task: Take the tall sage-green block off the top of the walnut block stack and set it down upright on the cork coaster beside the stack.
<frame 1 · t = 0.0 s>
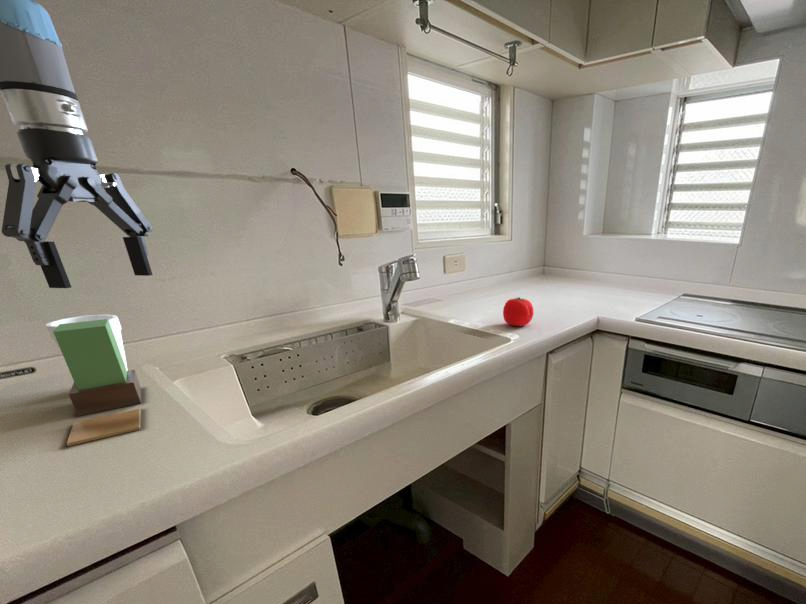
hand: (106, 281, 66), 21 cm above the countertop, tool pointing down, fingers open, 13 cm apart
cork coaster: (107, 427, 63), on the countertop
foam cup: (108, 386, 78), on the countertop
tomato: (517, 325, 123), on the countertop
walnut base: (112, 401, 71), on the countertop, touching green block
green block: (103, 381, 70), point 4 cm above the countertop, touching walnut base
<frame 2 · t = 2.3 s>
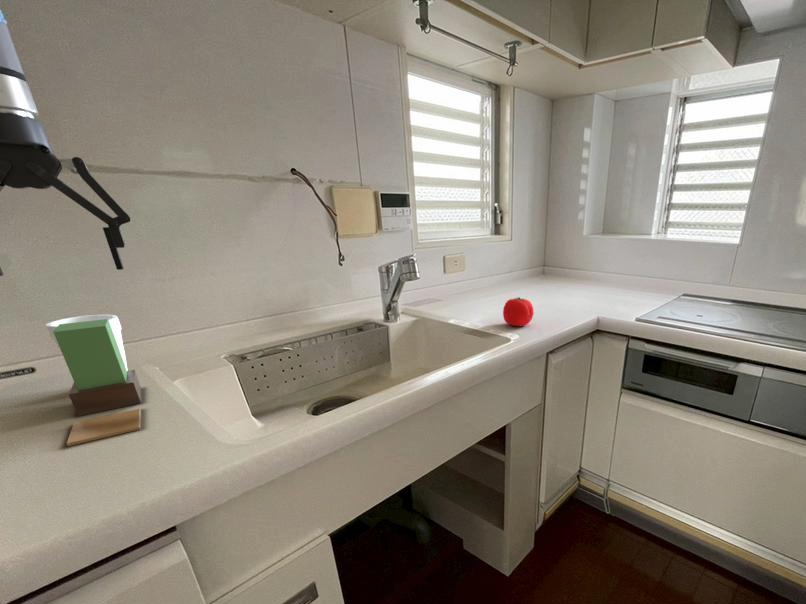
hand: (63, 272, 63), 22 cm above the countertop, tool pointing down, fingers open, 13 cm apart
nothing on the countertop moved.
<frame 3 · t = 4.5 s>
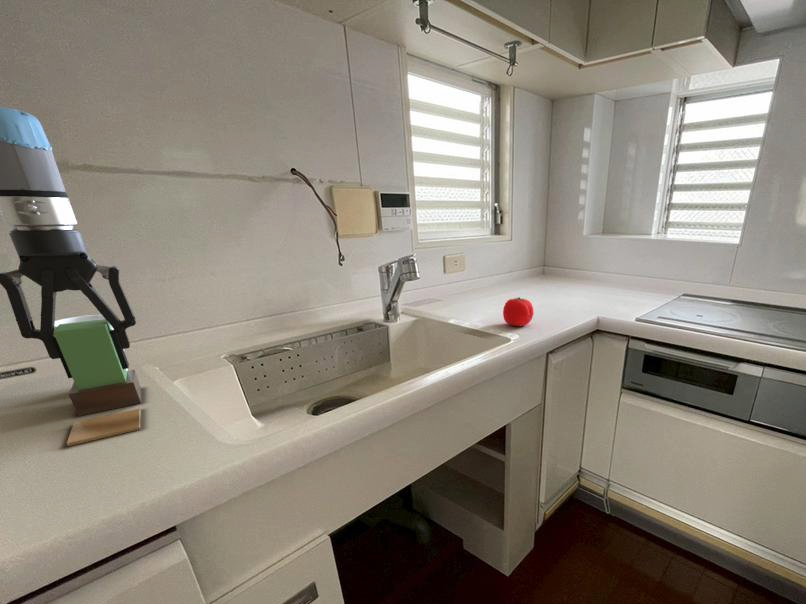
hand: (99, 370, 69), 6 cm above the countertop, tool pointing down, fingers closed on green block, 6 cm apart
green block: (103, 380, 70), point 4 cm above the countertop, touching gripper, walnut base
everything else where it was.
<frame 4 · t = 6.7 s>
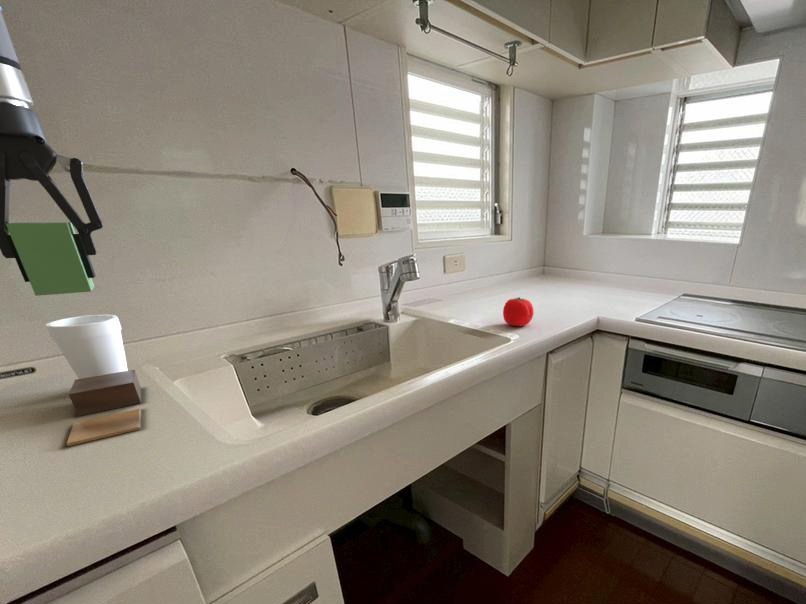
hand: (62, 278, 62), 22 cm above the countertop, tool pointing down, fingers closed on green block, 6 cm apart
walnut base: (112, 401, 71), on the countertop
green block: (66, 290, 63), point 20 cm above the countertop, touching gripper
everything else where it was.
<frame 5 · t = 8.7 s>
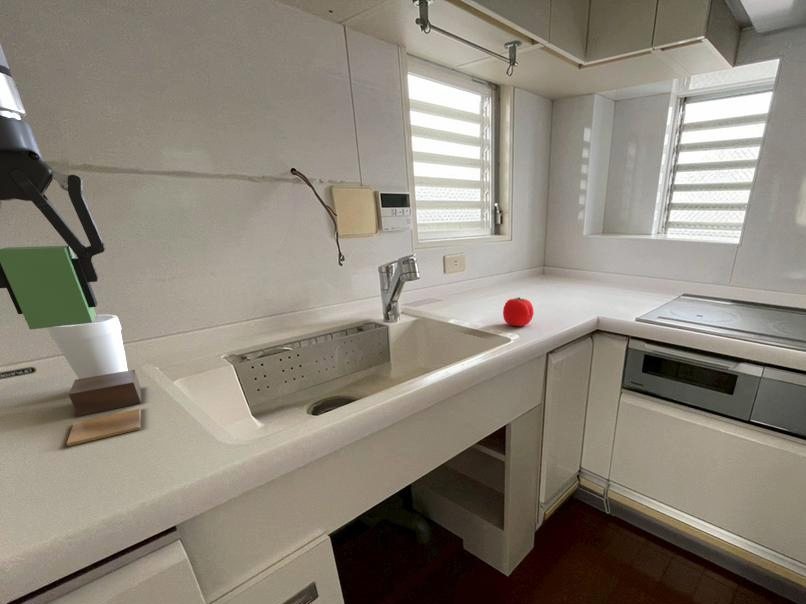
hand: (60, 308, 56), 19 cm above the countertop, tool pointing down, fingers closed on green block, 6 cm apart
green block: (65, 321, 57), point 17 cm above the countertop, touching gripper
everything else where it was.
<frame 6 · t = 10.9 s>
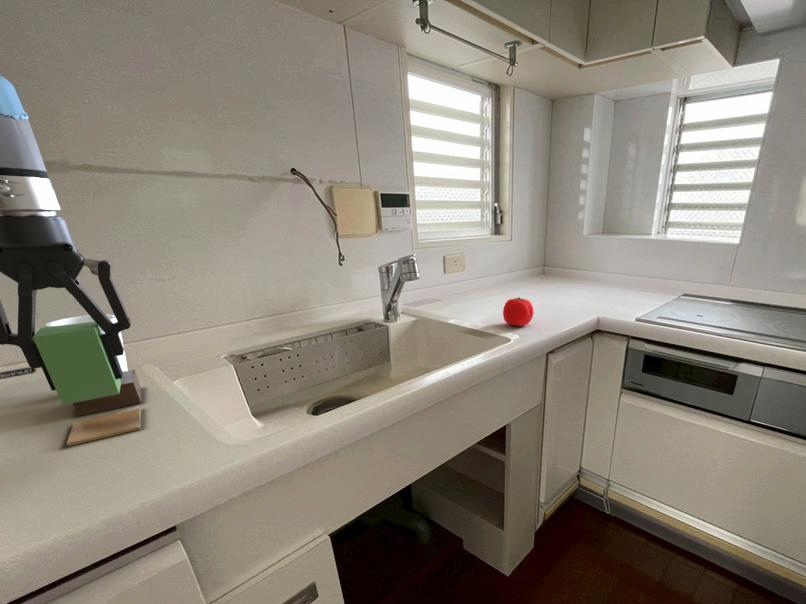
hand: (89, 381, 60), 8 cm above the countertop, tool pointing down, fingers closed on green block, 6 cm apart
green block: (93, 392, 60), point 6 cm above the countertop, touching gripper
everything else where it was.
when the fingers open (2 cm above the countertop, at t = 12.6 s): green block stays where it is, resting on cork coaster.
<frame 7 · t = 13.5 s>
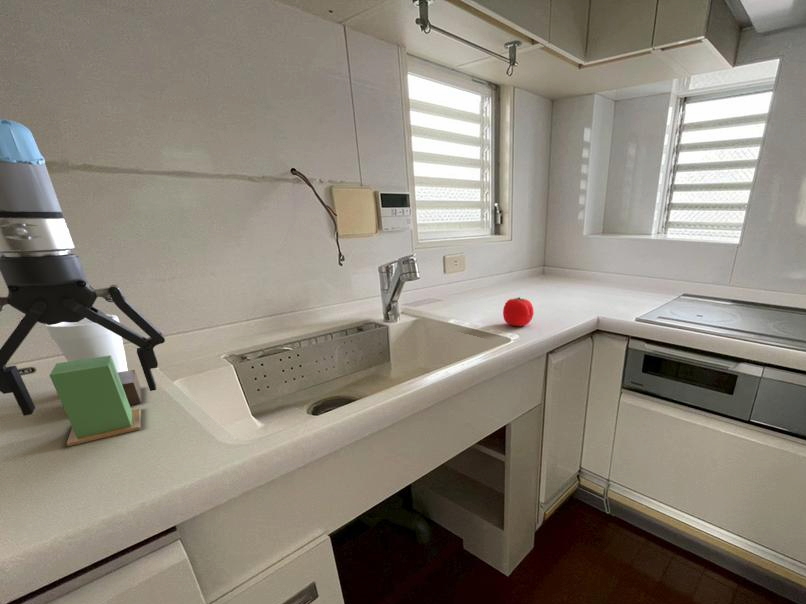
hand: (95, 399, 61), 5 cm above the countertop, tool pointing down, fingers open, 13 cm apart
green block: (106, 424, 62), resting on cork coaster
everything else where it was.
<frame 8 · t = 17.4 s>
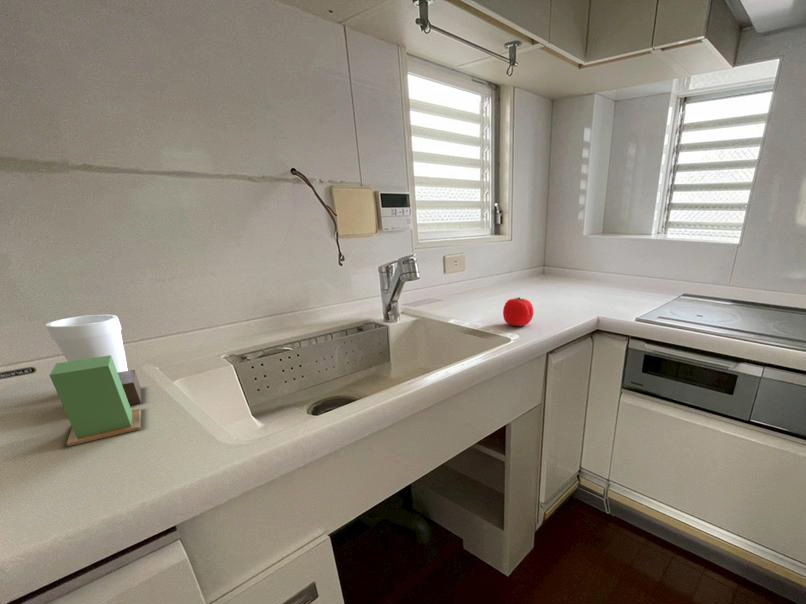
nothing on the countertop moved.
at the end: green block inside the target area on the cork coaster (0.1 cm from its centre), point 0.5 cm above the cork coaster's base; green block tilted 0°; walnut base moved 0.0 cm from its start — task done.
